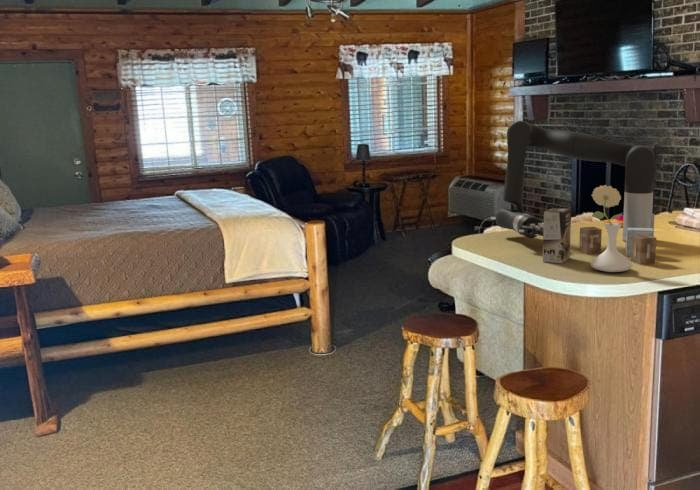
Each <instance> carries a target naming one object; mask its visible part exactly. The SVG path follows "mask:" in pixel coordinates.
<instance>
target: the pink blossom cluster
mask: <svg viewBox="0 0 700 490" xmlns="http://www.w3.org/2000/svg"><path fill="white" fill-rule="evenodd" d="M623 218H624V214H621V215H620V216H619V217H617V218H615V219H612V220H610V219H609V220H610V222H611V223H620V224H622V226H621V227H620V228H623ZM605 223H609V221H608V219H605V220H604V221H603V225H604V224H605Z"/></svg>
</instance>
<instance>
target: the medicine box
mask: <svg viewBox="0 0 700 490" xmlns="http://www.w3.org/2000/svg"><path fill="white" fill-rule="evenodd" d="M636 235H649V236H652V237H655V229H654V230H653V229H652V228H627V230H626V241H625V257H631V245H632V236H636Z"/></svg>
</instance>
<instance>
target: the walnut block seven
mask: <svg viewBox="0 0 700 490" xmlns="http://www.w3.org/2000/svg"><path fill="white" fill-rule="evenodd" d="M602 231H603V230H602V228H599V227H596V226H586V227H585V226H584V227H583V226H581V227H579V243H578V244H579V245H578V246H579V252H581V253H583V254H585V255H595V254H596V253H597V254H602V233H603V232H602Z"/></svg>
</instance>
